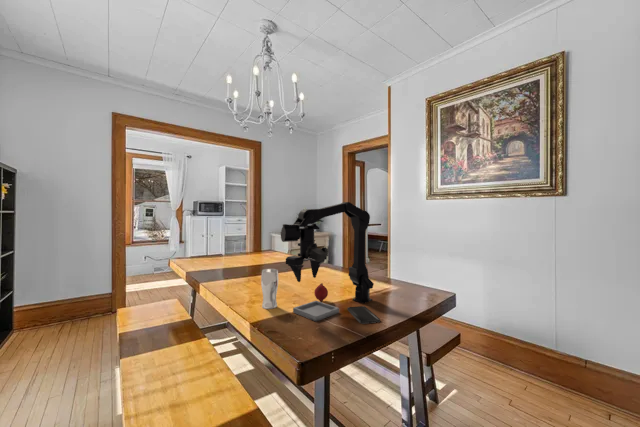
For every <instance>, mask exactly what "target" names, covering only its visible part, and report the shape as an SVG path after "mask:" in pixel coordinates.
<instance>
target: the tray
mask: <svg viewBox="0 0 640 427" xmlns="http://www.w3.org/2000/svg"><path fill="white" fill-rule="evenodd" d="M292 313H293V314H296V315H298V316H301V317H304V318H306V319H309V320H310V321H313V322H319V321H321V320H324V319H326V318H329V317H331V316H335V315H337V314H340V308H339V307H338V306H334V305H332V304H328V303H324V302H323V301H319V300H314V301H311V302H308V303H304V304H301V305H298V306H295V307H293V308H292Z"/></svg>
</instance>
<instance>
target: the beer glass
mask: <svg viewBox="0 0 640 427" xmlns="http://www.w3.org/2000/svg"><path fill="white" fill-rule="evenodd" d="M260 282H261V284H260V285H261V292H262V304H261V308H262V309H265V310H273V309H276V308H277V307H278V302H277V294H278V287H279V269H276V268H263V269H262V270H261V277H260Z"/></svg>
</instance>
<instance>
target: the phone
mask: <svg viewBox="0 0 640 427" xmlns="http://www.w3.org/2000/svg"><path fill="white" fill-rule="evenodd" d="M346 310H347V311H348V312H349V313H350V315H351V316H353V318H354V319H355V320H356V321H357V322H358V323H359V324H362V325H365V324H366V325H367V324H376V322H377V323H380V322H381V319H380V317H378V316H377V315H376V314H375V313H373V312H372V311H371V310H370V309H369V308H368V307H366V306H364V305H361V306H349V307H347V309H346Z"/></svg>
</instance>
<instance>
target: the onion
mask: <svg viewBox="0 0 640 427" xmlns="http://www.w3.org/2000/svg"><path fill="white" fill-rule="evenodd" d="M313 292H314V296H315V298H316V299H317V301H319V302H323V301H324V300H326V298H328V295H329V291H328V288H327V287H326V286H325V285H324V283H323V282H320V284H319V285H317V286H316V288H315V289H314V291H313Z"/></svg>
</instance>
